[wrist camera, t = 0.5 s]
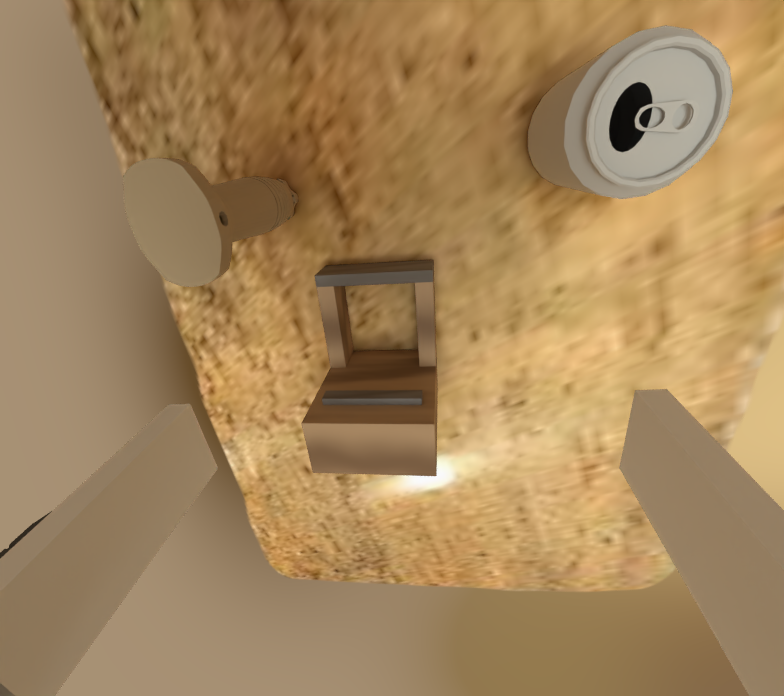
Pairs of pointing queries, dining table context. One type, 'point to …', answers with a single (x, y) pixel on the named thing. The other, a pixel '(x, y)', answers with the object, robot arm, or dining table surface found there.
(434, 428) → the wooden stand
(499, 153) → the dining table surface
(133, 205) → the handle
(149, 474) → the robot arm
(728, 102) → the can
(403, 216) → the dining table surface
